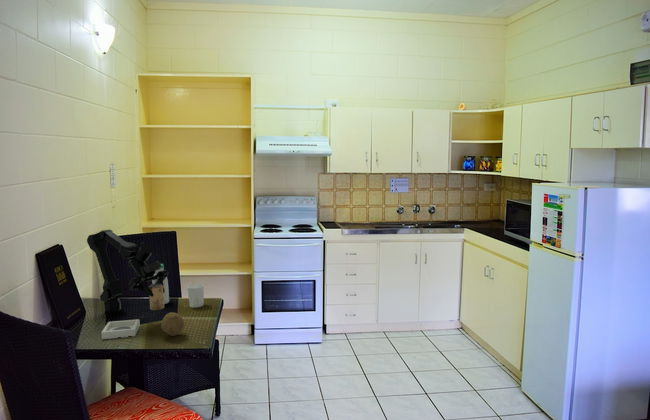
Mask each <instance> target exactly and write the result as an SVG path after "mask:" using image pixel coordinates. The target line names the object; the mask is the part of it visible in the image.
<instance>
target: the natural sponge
mask: <svg viewBox="0 0 650 420" xmlns="http://www.w3.org/2000/svg"><path fill="white" fill-rule="evenodd" d="M160 323H161V324H160V327H161V329H162V330H163V332H165V333H166V334H168V335H169V336H171V337H176V336H177V335H178V334H179V333H180V332H181V331H182V330H183V329H184V327H185V322H184V319H183V317H181V315H180V314H179V313H177V312H168V313H166V314H165V315H164V317H162V320H161V322H160Z"/></svg>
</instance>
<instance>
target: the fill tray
mask: <svg viewBox="0 0 650 420" xmlns="http://www.w3.org/2000/svg"><path fill="white" fill-rule="evenodd" d="M140 326H141V322H140V319H127V320H125V319H124V320H115V321H114V320H113V321H108V322H107V323H106V325H105V326H104V328H103V329H102V330H101V340H107V339H119V338H118V337H121V338H129V337H128V336H132V337H136V336H137V333H138V331H139V328H140Z"/></svg>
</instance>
